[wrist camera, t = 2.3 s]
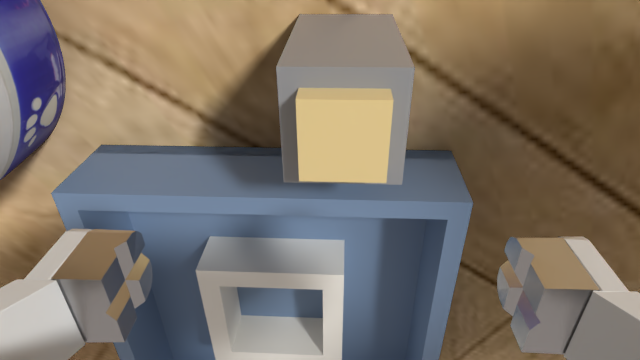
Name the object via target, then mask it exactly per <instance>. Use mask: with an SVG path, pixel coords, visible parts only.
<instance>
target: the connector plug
mask: <svg viewBox="0 0 640 360" xmlns="http://www.w3.org/2000/svg"><path fill="white" fill-rule="evenodd" d="M414 71H415V67H414V64H413V62H412V60H411V57H410V55H409V52H408V50H407V48H406V45H405V43H404V41H403V38H402V36H401V33H400V31H399V29H398V26H397V24H396V21H395V19H394V17H393V14H300V15H299V17H298V19H297V21H296V23H295V26H294V28H293V30H292V32H291V35H290V37H289V39H288V41H287V43H286V46H285V48H284V50H283V52H282V55H281V57H280V59H279V61H278V63H277V66H276V73H277V88H278V103H279V119H280V134H281V149H282V164H283V180H284V182H292V183H340V184H388V185H402V180H403V171H404V162H405V153H406V144H407V135H408V126H409V116H410V107H411V98H412V89H413V80H414Z"/></svg>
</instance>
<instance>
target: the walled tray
mask: <svg viewBox="0 0 640 360" xmlns="http://www.w3.org/2000/svg"><path fill="white" fill-rule="evenodd" d="M51 194H52V197H53V199H54V201H55V204H56V206H57V209H58V211H59V213H60V216H61V218H62V221H63V223H64V225H65V228H66V230H67V231H68V230H71V229H92V230H94V229H104V230H131V231H138V232H140V233H142V236H143V239H144V242H145V247H144V249H143V250H142V252H141V253H142V254H143V255H145V256H146V257H147V258H148V259H149V260H150V263H151V266H152V275H153V279H152V284H151V290H150V293H149V295H148V297H147V299H146V301H145V302H144V303H142V304H141V305H139V306H138V307H137V308H135V311H136V314H137V319H136V321H135V323H134V325H133V327H132V329H131V331H130V333H129V335H128V337H127V339H126V341H125V342H113V344H114V346H115V348H116V351H117V353H118V356H119V358H120V360H439V357H440V352H441V347H442V343H443V338H444V334H445V329H446V325H447V320H448V316H449V311H450V306H451V302H452V297H453V293H454V288H455V284H456V279H457V275H458V270H459V265H460V261H461V256H462V252H463V247H464V243H465V238H466V234H467V229H468V224H469V220H470V215H471V211H472V206H473V201H472V199H471V196H470V194H469V192H468V189H467V187H466V184H465V182H464V180H463V177H462V175H461V173H460V170H459V168H458V166H457V163H456V161H455V159H454V156H453V154H452V151H437V150H406V153H405V162H404V171H403V180H402V185H388V184H340V183H292V182H284V180H283V164H282V149H281V148H258V147H199V146H139V145H101V146H100V147H99V148H98V149H96V150H95V151H94V152H93V153H92V154H91V155H90V156H89V157H88V158H87V159H86V160H85V161H84V162H83V163H82V164H81V165H80V166H79V167H78V168H77V169H76V170H75V171H74V172H72V173H71V174H70V175H69V176H68V177H67V178H66V179H65V180H64V181H63V182H62V183H61V184H60V185H59V186H58V187H57V188H56V189H55V190H54V191H53V192H52V193H51Z"/></svg>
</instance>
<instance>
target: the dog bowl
mask: <svg viewBox="0 0 640 360" xmlns="http://www.w3.org/2000/svg"><path fill="white" fill-rule="evenodd" d="M65 82H66V81H65V68H64V61H63V57H62V52H61V49H60V45H59V41H58V38H57V36H56V33H55V30H54V28H53V25H52V23H51V21H50V18H49V16H48V14H47V12H46V10H45V8H44V6H43V5H42V3H41V1H40V0H0V180H1V179H2V178H4V177H5V176H6V175H7V174H8V173H10V172H11V171H12V170H13V169H14V168H15V167H17V166H18V165H19V164H20V163H21V162H22V161H24V160H25V159H26V158H27V157H28V156H29V155H30V154H31V153H32V152H34V151H35V150H36V149H37V148H38V147H39V146H40V145H41V144H42V143H43V142H44V141H45V140H46V139H47V138H48V137H49V135H50V134H51V133H52V131H53V130H54V128H55V126H56V124H57V122H58V120H59V117H60V115H61V112H62V109H63V104H64V98H65Z"/></svg>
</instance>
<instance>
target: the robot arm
mask: <svg viewBox="0 0 640 360" xmlns="http://www.w3.org/2000/svg"><path fill="white" fill-rule="evenodd" d="M144 247H145V242H144V239H143V236H142V233H140V232H138V231H131V230H104V229H94V230H92V229H71V230H68V231H66V232H65V233H64V234H63V235H62V236H61V237H60V239H59V240H58V241H57V242H56V243H55V244H54V245H53V247H52V248H51V249H50V250H49V251H48V252H47V253H46V255H45V256H44V257H43V258H42V259H41V260H40V261H39V263H38V264H37V265H36V266H35V267H34V268H33V270H32V271H31V272H30V273H29V274H28V275H27V276H26V278H25V279H16V280H14V281H13V282H11V283H9V284H7V285H5V286H3V287H1V288H0V360H68V359H69V358H70V357H71V356H73V355H74V354H75V353H76V352H77V351H78V350H80V349H81V348H82V347H83V346H84V345H85V342H125V341H126V339H127V337H128V335H129V333H130V331H131V329H132V327H133V325H134V323H135V321H136V319H137V314H136V311H135V308H137V307H138V306H139V305H141V304H142V303H144V302H145V301H146V299H147V297H148V295H149V293H150V290H151V284H152V279H153V275H152V266H151V263H150V260H149V259H148V258H147V257H146V256H145V255H143V254H142V253H141V252H142V250H143V249H144ZM504 251H505V253H506V256H507V258H508V260H507V261H506V262H505V263H504V264H502V265H501V266H500V268H499V273H498V277H497V291H498V295H499V300H500V302H501V305H502V307H503V309H504V310H505V311H507V312H508V313H509V314H510V315H512V316H513V318H512V322H511V325H510V326H511V329H512V331H513V333H514V336H515V338H516V340H517V343H518V345H519V347H520V350H521V352H526V353H546V354H564V357H565V358H566V359H567V360H640V293H638V292H631V291H628V289H627V288H626V287H625V286H624V284H623V283H622V282H621V280H620V279H619V278H618V277H617V275H616V274H615V273H614V271H613V270H612V269H611V268H610V266H609V265H608V264H607V262H606V261H605V260H604V259H603V257H602V256H601V255H600V253H599V252H598V251H597V250H596V248H595V247H594V246H593V244H592V243H591V242H590V241H589V240H588V239H587V238H585V237H583V236H566V237H510V239H509V240H508V241H507V244H506V247H505V250H504Z"/></svg>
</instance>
